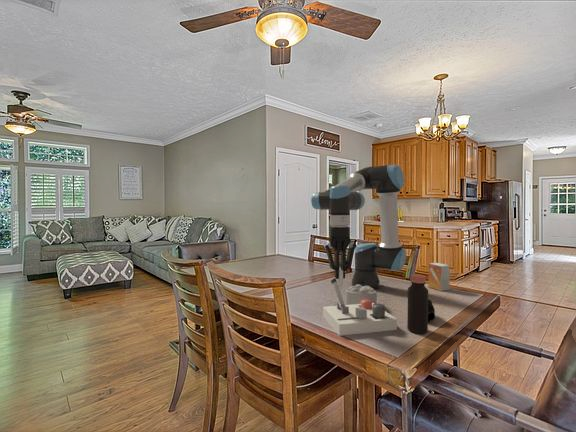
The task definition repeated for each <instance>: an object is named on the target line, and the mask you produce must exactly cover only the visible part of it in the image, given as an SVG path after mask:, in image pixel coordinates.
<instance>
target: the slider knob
mask: <svg viewBox="0 0 576 432" xmlns="http://www.w3.org/2000/svg"><path fill="white" fill-rule="evenodd" d="M356 317H358V318H359V319H363V318H367V310H366V309H365V308H364V307H359V308H356Z"/></svg>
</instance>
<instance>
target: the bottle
mask: <svg viewBox="0 0 576 432" xmlns="http://www.w3.org/2000/svg"><path fill="white" fill-rule="evenodd" d="M426 278H427V277H426V275H423V274H420V273H419V274H418V273H414V274H410V283H411V284H410V286H409V287H408V288H407V322H406V323H407V325H406V326H407V331H409V332H410V333H413V334H418V335H424V334H427V333H428V331H429V329H428V326H429V324H428V323H429V322H428V299H429V289H428V288H427V287H426V286H425V285H426V283H427V281H426Z"/></svg>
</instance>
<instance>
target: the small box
mask: <svg viewBox="0 0 576 432" xmlns="http://www.w3.org/2000/svg"><path fill="white" fill-rule="evenodd" d="M450 268H451V267H450V265H449V264H446V263H442V262H441V263H440V262H430V263H428V280H427V281H428V284H427V285H428V288H431V289H434V290H437V291H439V292H444V291H449V290H450V275H451V274H450V273H451V272H450Z"/></svg>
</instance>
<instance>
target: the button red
mask: <svg viewBox="0 0 576 432" xmlns="http://www.w3.org/2000/svg"><path fill="white" fill-rule="evenodd" d="M361 307H364V308H365V309H372V301H371V300H368V299H363V300H361Z"/></svg>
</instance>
